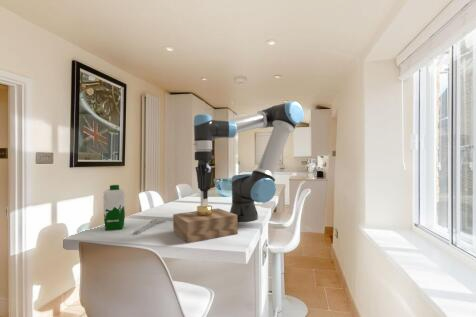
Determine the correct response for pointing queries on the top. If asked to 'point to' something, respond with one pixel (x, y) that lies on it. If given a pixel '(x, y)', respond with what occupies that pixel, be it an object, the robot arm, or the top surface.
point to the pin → (204, 210)
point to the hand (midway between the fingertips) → (204, 205)
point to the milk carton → (114, 208)
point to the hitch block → (204, 225)
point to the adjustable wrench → (149, 226)
